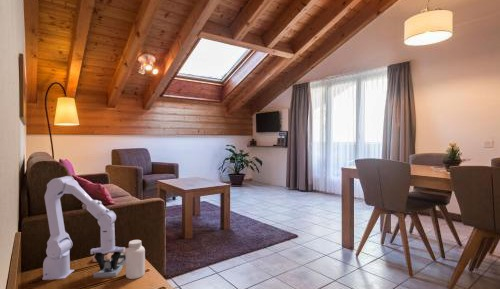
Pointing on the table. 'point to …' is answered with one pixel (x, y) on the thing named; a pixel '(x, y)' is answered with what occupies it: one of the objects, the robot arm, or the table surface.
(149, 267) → the table surface
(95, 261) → the pink square tube
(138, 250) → the pill bottle
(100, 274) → the trough
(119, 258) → the pad
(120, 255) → the digital scale
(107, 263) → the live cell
